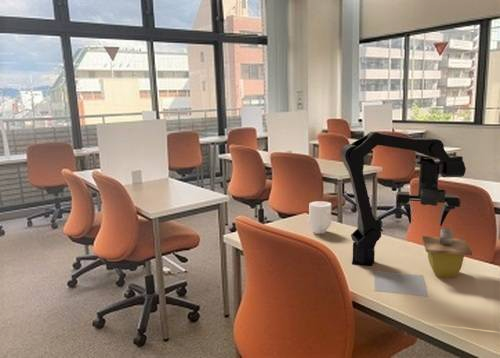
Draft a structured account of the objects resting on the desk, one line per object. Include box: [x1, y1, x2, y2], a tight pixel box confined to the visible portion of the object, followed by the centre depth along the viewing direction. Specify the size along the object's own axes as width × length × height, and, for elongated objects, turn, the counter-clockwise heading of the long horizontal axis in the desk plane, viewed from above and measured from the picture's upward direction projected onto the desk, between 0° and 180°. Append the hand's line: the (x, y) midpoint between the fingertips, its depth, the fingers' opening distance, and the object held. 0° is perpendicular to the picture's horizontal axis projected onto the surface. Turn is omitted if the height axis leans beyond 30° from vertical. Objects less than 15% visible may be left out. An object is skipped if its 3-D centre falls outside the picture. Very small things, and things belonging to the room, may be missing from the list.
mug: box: [308, 200, 333, 235], centre depth 167 cm, size 12×9×12 cm
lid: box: [421, 227, 473, 256], centre depth 123 cm, size 12×12×5 cm
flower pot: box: [427, 252, 465, 278], centre depth 125 cm, size 9×9×9 cm
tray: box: [374, 270, 429, 297], centre depth 120 cm, size 14×14×1 cm
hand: (425, 224), depth 135 cm, fingers open, 9 cm apart
